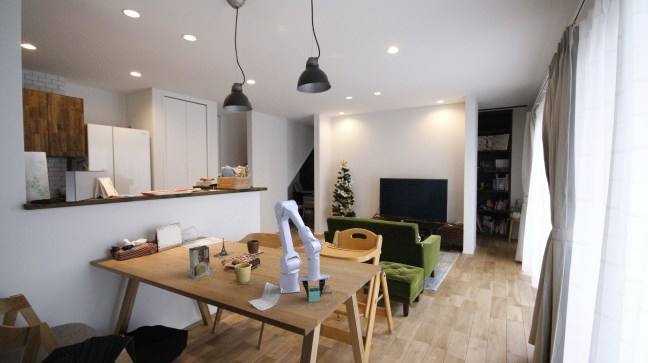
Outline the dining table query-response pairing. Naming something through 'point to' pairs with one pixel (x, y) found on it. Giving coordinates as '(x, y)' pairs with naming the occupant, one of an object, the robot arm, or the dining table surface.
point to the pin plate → (326, 289)
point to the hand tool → (254, 261)
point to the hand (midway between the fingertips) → (313, 296)
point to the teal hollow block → (314, 294)
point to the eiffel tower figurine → (222, 251)
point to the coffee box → (199, 261)
